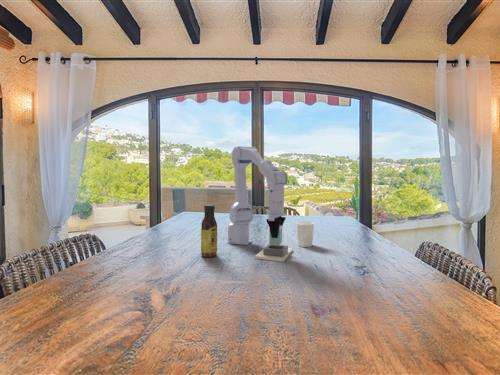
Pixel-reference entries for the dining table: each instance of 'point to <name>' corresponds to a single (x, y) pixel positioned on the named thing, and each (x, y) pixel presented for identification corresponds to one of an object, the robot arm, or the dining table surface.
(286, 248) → the outlet plate
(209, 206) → the sauce bottle
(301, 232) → the white cup
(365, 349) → the dining table surface
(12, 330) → the dining table surface
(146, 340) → the dining table surface
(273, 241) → the block
